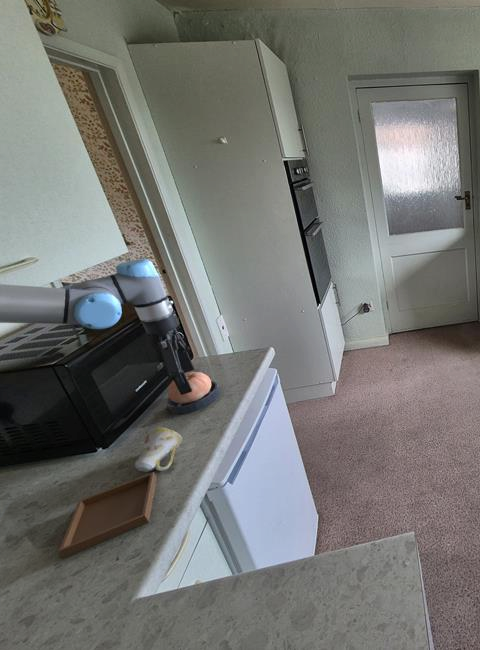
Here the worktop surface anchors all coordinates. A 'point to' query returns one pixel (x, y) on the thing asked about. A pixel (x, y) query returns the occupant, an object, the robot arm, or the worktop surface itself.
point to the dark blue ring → (194, 406)
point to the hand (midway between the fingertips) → (188, 381)
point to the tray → (109, 514)
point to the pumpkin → (199, 388)
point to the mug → (158, 449)
